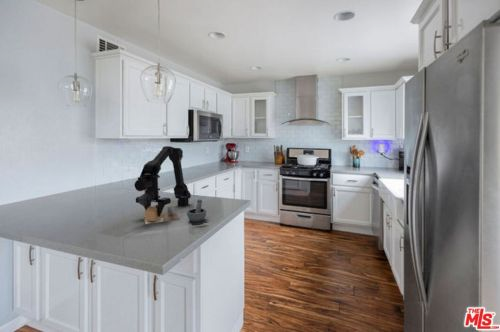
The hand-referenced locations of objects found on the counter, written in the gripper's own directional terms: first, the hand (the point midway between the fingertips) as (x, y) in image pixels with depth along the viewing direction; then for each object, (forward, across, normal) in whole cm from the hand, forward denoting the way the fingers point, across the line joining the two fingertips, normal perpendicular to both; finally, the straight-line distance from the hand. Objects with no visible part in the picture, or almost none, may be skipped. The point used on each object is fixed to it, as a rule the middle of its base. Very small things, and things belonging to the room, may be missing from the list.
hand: (153, 216), depth 136 cm
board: (+4, +1, +4) cm, 6 cm away
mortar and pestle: (+4, +22, +8) cm, 24 cm away
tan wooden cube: (+2, 0, 0) cm, 2 cm away
